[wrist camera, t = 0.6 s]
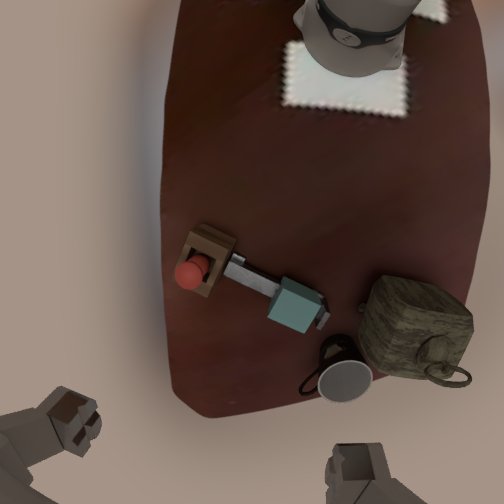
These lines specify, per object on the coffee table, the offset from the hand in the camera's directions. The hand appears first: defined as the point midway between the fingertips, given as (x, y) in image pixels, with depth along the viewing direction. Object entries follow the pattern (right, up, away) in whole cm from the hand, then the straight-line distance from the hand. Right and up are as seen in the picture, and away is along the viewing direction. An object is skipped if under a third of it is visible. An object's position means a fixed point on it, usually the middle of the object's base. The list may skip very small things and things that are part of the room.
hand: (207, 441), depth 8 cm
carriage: (+8, -1, +40) cm, 41 cm away
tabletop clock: (+26, -1, +40) cm, 47 cm away
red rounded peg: (-6, +4, +36) cm, 36 cm away
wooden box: (-5, +6, +41) cm, 42 cm away
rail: (+5, +1, +42) cm, 42 cm away
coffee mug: (+15, -11, +44) cm, 48 cm away
